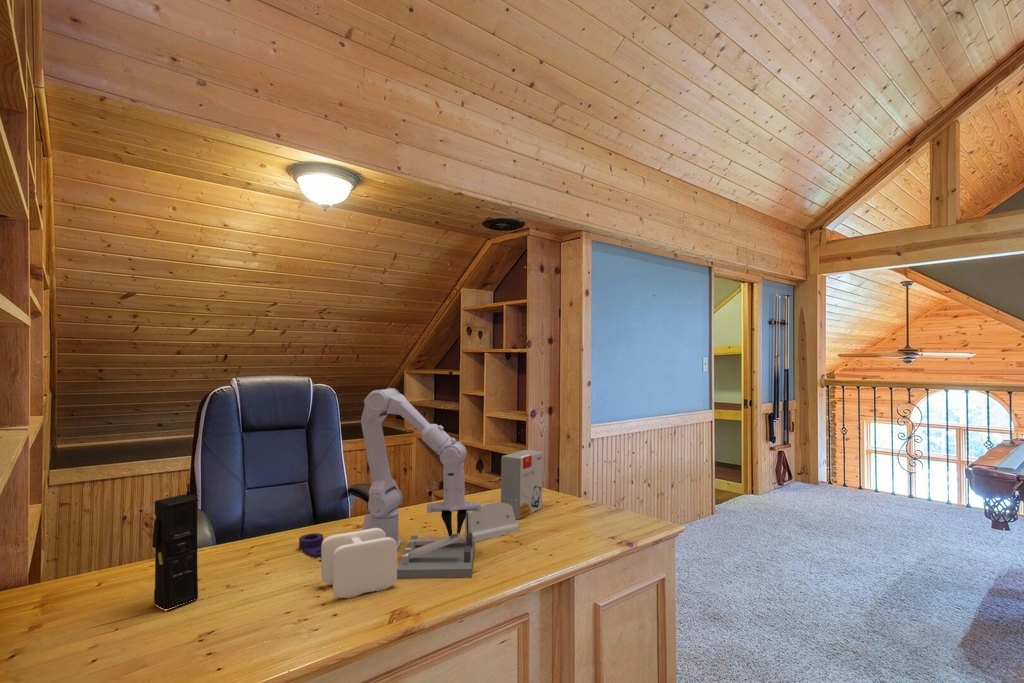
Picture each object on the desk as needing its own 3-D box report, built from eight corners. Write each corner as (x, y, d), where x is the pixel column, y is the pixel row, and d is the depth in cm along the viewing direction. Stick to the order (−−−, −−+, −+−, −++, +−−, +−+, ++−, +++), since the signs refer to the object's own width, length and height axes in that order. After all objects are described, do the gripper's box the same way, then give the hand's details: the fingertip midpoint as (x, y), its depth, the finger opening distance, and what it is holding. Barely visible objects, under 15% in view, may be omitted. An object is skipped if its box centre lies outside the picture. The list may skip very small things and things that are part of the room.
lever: (296, 547, 148) (296, 536, 148) (319, 542, 151) (319, 531, 151) (308, 561, 138) (308, 549, 138) (332, 555, 142) (332, 544, 142)
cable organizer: (330, 604, 114) (330, 550, 114) (320, 585, 123) (320, 535, 124) (397, 588, 122) (397, 537, 122) (383, 571, 131) (383, 524, 131)
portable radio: (160, 615, 109) (162, 494, 110) (147, 607, 113) (148, 490, 113) (200, 599, 116) (201, 485, 117) (185, 593, 119) (186, 482, 120)
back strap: (409, 546, 141) (409, 541, 141) (411, 542, 144) (411, 537, 144) (464, 543, 142) (464, 538, 142) (465, 539, 145) (464, 534, 145)
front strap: (404, 562, 131) (402, 556, 131) (406, 557, 134) (404, 552, 134) (459, 541, 132) (457, 535, 132) (460, 536, 135) (458, 531, 135)
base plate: (396, 578, 127) (396, 559, 127) (410, 544, 149) (410, 528, 149) (471, 577, 127) (471, 558, 128) (474, 544, 149) (474, 527, 150)
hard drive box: (519, 520, 170) (519, 458, 171) (499, 516, 175) (499, 456, 175) (543, 508, 183) (543, 451, 184) (524, 505, 188) (524, 448, 188)
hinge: (473, 542, 150) (467, 506, 153) (465, 543, 154) (460, 508, 157) (521, 531, 160) (515, 498, 163) (513, 532, 163) (507, 499, 166)
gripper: (425, 492, 139) (425, 544, 139) (480, 491, 140) (480, 542, 140) (428, 485, 146) (429, 534, 146) (480, 484, 147) (481, 533, 147)
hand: (454, 538), depth 143 cm, fingers closed on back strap
